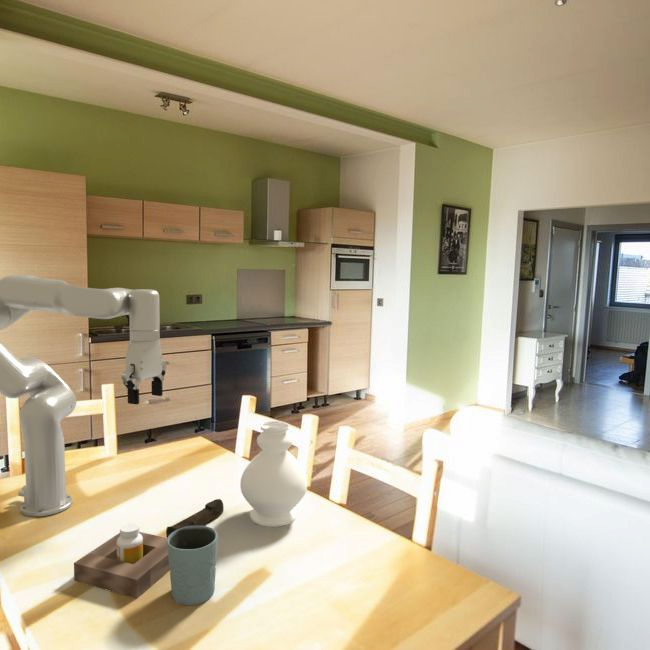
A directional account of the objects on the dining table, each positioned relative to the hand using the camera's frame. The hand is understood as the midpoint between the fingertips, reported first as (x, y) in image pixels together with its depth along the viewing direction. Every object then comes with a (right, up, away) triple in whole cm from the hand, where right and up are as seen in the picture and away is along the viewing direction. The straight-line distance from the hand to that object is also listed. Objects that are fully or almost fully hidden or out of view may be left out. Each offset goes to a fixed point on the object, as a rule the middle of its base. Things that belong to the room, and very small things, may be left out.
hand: (145, 399), depth 145 cm
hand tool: (+15, -32, -6) cm, 36 cm away
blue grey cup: (+21, -35, -34) cm, 53 cm away
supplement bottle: (+5, -34, -26) cm, 43 cm away
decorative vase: (+34, -32, +1) cm, 47 cm away
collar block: (+6, -34, -26) cm, 43 cm away
